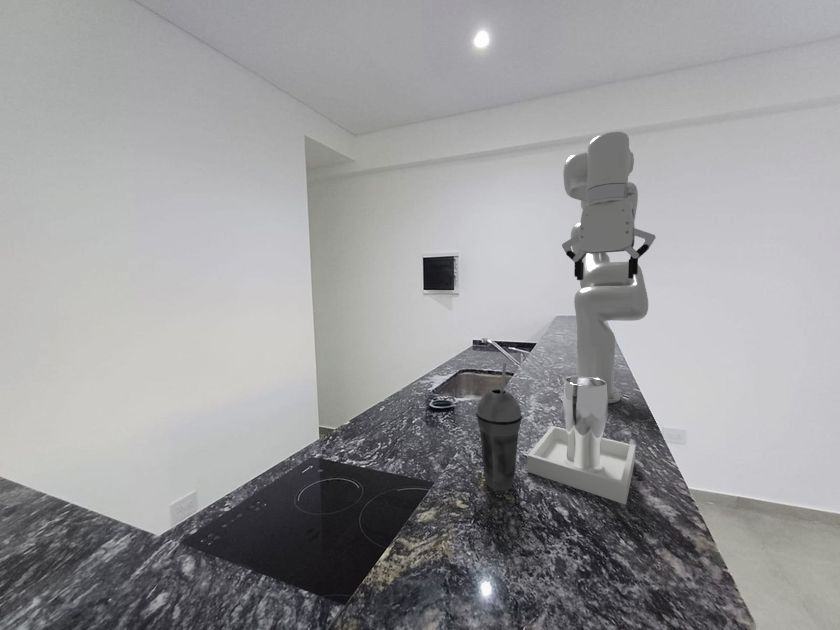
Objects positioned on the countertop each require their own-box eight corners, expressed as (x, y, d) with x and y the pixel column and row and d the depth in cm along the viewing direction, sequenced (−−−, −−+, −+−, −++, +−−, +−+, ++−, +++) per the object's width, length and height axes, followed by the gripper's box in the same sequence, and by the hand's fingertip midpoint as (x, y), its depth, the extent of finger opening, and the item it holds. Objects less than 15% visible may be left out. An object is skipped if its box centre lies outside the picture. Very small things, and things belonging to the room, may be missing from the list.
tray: (551, 439, 68) (551, 425, 67) (634, 461, 59) (635, 445, 58) (527, 471, 56) (527, 455, 56) (625, 504, 47) (626, 485, 47)
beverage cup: (468, 475, 55) (467, 361, 54) (504, 466, 58) (504, 357, 56) (492, 501, 49) (491, 371, 47) (531, 489, 51) (532, 366, 50)
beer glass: (595, 453, 60) (596, 375, 59) (613, 475, 54) (616, 387, 52) (556, 452, 61) (557, 375, 60) (570, 473, 54) (572, 386, 53)
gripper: (658, 193, 66) (654, 278, 67) (567, 208, 76) (566, 280, 78) (656, 185, 60) (653, 277, 61) (558, 202, 70) (557, 280, 72)
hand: (604, 279), depth 69 cm, fingers open, 9 cm apart
